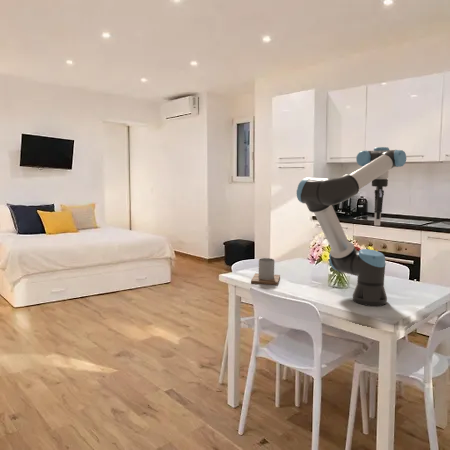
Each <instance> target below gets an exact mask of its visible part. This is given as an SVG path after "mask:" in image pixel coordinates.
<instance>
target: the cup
mask: <svg viewBox="0 0 450 450" xmlns="http://www.w3.org/2000/svg"><path fill="white" fill-rule="evenodd" d="M258 274H259V277H258V278H259V279H263V280H271V279H274V275H275V259H274V258H269V257H268V258H267V257H262V258H258Z"/></svg>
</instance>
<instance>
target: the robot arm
mask: <svg viewBox="0 0 450 450" xmlns="http://www.w3.org/2000/svg"><path fill="white" fill-rule="evenodd" d="M356 163H357V165H359V166H360V168H358V169H357V170H355V171H353V172H351V173H350V174H347V173H346V174H344V175H342V176H339V177H314V176H310V177H305V178H302V179H301V181H299V183H298V185H297V189H296V198H297V200H298V201H299V202H300V203H302V204H305V205H306V207H307V209H308V211H309V212H311V213H314V214H313V215H314V216H315V218H316V220H317V222H318V224H319V226H320V229H321V230H322V232H323V234H324V236H325V239H326V241H327V242H328V244H329V248H330V250H329V255H328V257H329V259H328V262H329V263H328V264H329V265H330V267H331V268H332V269H333V270H334V271H337V272H340V273H343V274H344V273H345V274H347V275H352V276H356V277H357V282H356V286H355V289H354V290H353V293H352V301H353V302H355V303H357V304H358V305H363V304H364V306H368V305H370V306H371V307H380V305H382V306H384V304H385V305H387V304H386V303H388V297H387V292H386V289H385V273H386V271H385V270H386V265H387V264H386V256H385V254H384V253H383V252H380V251H379V250H374V249H369V248H362V249H359V250H357V249H356V248H355V245H354V243H353V242H351V241H349V240H348V238H347V236H346V233H345V231H344V229H343V227H342V224H341V222H340V220H339V218H338V216H337V213H336V211H335V209H334V207H333V206H335V205H338V204H341V203H344V202H345V201H347V200H349V199H351V198H353V197H354V196H356V195H358V193H359V192H360V190H361V189H362V188H364V187H365V186H367V185H369V184H370V183H371V187H375V189H374V212H373V213H374V224H373V225H374V226H381V223H382V222H381V217H382V212H383V204H384V203H383V202H384V201H383V200H384V194H385V190H384V189H383V188H384V187H385V188H386V187H388V185H389V182H388V181H389V180H388V178H389V171H390V170H392V169H393V168H399V167H403V166H404V165H406V163H407V154H406V152H405V150H403V149H402V150H401V149H390V148H389V147H385V146H379V147H376V146H375V147H374V148H373V150H361V151H359V152H358V153H357V155H356Z"/></svg>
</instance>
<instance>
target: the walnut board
mask: <svg viewBox="0 0 450 450" xmlns="http://www.w3.org/2000/svg"><path fill="white" fill-rule="evenodd" d="M258 277H259V273H258V272H257V273H256V272H255V273H254V275H253V276H252V278H251V280H250V284H254V285H257V284H259V285H271V286H272V285H273V286H278V285H279V283H280V278H281V274H274V279H271V280H263V279H259V278H258Z"/></svg>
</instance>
